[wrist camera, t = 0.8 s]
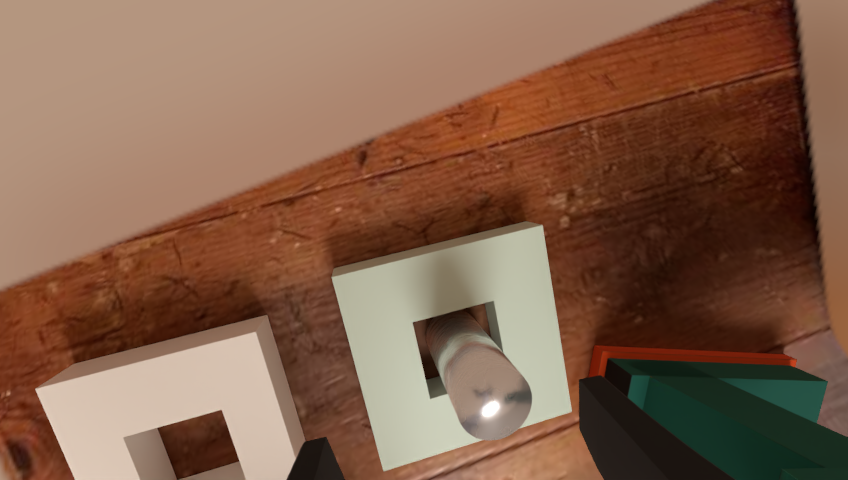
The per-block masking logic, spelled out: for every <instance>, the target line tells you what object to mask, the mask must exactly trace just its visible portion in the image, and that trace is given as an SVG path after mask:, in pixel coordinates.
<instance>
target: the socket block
mask: <svg viewBox="0 0 848 480" xmlns="http://www.w3.org/2000/svg"><path fill="white" fill-rule="evenodd" d="M332 281H333V285H334V288H335V292H336V296H337V300H338V303H339V307H340V311H341V314H342V318H343V322H344V326H345V329H346V333H347V337H348V341H349V344H350V348H351V352H352V356H353V359H354V363H355V367H356V371H357V374H358V378H359V382H360V386H361V389H362V393H363V397H364V401H365V404H366V408H367V412H368V416H369V419H370V423H371V427H372V431H373V434H374V438H375V442H376V446H377V449H378V453H379V457H380V461H381V464H382V468H383V471H387V470H390V469H393V468H396V467H399V466H402V465H406V464H409V463H412V462H415V461H418V460H421V459H424V458H428V457H431V456H434V455H437V454H440V453H443V452H446V451H450V450H453V449H456V448H459V447H462V446H465V445H469V444H472V443H475V442H478V441H481V440H482V439H478V438H476V437H473V436H472V435H470V434H469V433H468V432H466V431H465V429H464V428H463V427H462V425H461V424H460V422H459V419H458V417H457V415H456V412H455V410H454V407H453V405H452V403H451V400H450V398H449V396H448V393H447V391H446V389H445V386H444V384H443V381H442V379H441V377H440V376H438V377H434V378H431V379H427V380H426V379H425V375H424V370H423V366H422V362H421V357H420V353H419V349H418V344H417V340H416V336H415V331H414V327H413V323H412V322H416V321H420V320H424V319H427V318H431V317H435V316H438V315H442V314H446V313H450V312H453V311H457V310H461V309H464V308H468V307H472V306H476V305H479V304H483V303H485V308H486V313H487V318H488V323H489V329H490V334H491V339H492V340H493V341H494V343H495V344H496V345H497V346H498V347H499V349H500V350H501V351H502V352H503V353H504V354H505V356H506V357H507V358H508V359H509V360H510V362H511V363H512V364H513V365H514V366H515V367H516V369H517V370H518V371H519V372H520V373H521V375H522V376H523V377H524V378H525V379H526V381H527V382H528V384H529V386H530V389H531V393H532V405H531V410H530V413H529V415H528V417H527V419H526V420H525V422H524V423H523V424H522V426H521V427H520V428H522V427H525V426H528V425H532V424H535V423H538V422H541V421H544V420H547V419H550V418H554V417H557V416H560V415H563V414H566V413H569V412H572V409H571V403H570V397H569V390H568V384H567V378H566V371H565V365H564V358H563V352H562V346H561V339H560V333H559V327H558V320H557V314H556V308H555V301H554V295H553V289H552V282H551V276H550V269H549V263H548V257H547V250H546V244H545V238H544V231H543V225H540V224H536V223H532V222H528V221H525V222H521V223H517V224H513V225H509V226H505V227H501V228H497V229H492V230H488V231H484V232H480V233H476V234H472V235H468V236H464V237H460V238H456V239H452V240H447V241H443V242H439V243H435V244H431V245H427V246H423V247H419V248H415V249H411V250H407V251H402V252H398V253H394V254H390V255H386V256H382V257H378V258H374V259H370V260H366V261H362V262H357V263H353V264H349V265H345V266H341V267H337V268H334V270H333V274H332Z"/></svg>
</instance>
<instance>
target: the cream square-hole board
mask: <svg viewBox="0 0 848 480" xmlns="http://www.w3.org/2000/svg"><path fill="white" fill-rule="evenodd" d="M35 390H36V392H37V394H38V397H39V399H40V401H41V403H42V406H43V408H44V410H45V412H46V415H47V417H48V419H49V422H50V424H51V426H52V428H53V431H54V433H55V435H56V437H57V440H58V442H59V444H60V446H61V449H62V451H63V453H64V456H65V458H66V460H67V462H68V465H69V467H70V469H71V471H72V474H73V476H74V478H75V480H177V478H176V475H175V473H174V470H173V468H172V465H171V462H170V460H169V457H168V455H167V452H166V449H165V447H164V444H163V442H162V439H161V436H160V434H159V431H158V429H157V428H158V427H162V426H165V425H169V424H172V423H176V422H180V421H183V420H187V419H190V418H194V417H197V416H201V415H204V414H208V413H212V412H215V411H219V410H222V412H223V415H224V418H225V420H226V423H227V426H228V429H229V432H230V435H231V438H232V441H233V444H234V447H235V449H236V452H237V455H238V458H239V462H236V463H232V464H229V465H226V466H222V467H219V468H216V469H212V470H209V471H206V472H202V473H199V474H196V475H192V476H189V477H186V478H182V479H179V480H286V479H287V477H288V475H289V473H290V471H291V468H292V466H293V464H294V462H295V460H296V457H297V455H298V453H299V451H300V448H301V446H302V445H303V443H304V442H306V440H305V437H304V434H303V431H302V427H301V424H300V421H299V417H298V414H297V411H296V408H295V404H294V401H293V398H292V395H291V391H290V388H289V385H288V381H287V378H286V375H285V372H284V368H283V365H282V362H281V358H280V355H279V352H278V349H277V345H276V342H275V339H274V335H273V332H272V329H271V326H270V322H269V319H268V316H267V315H264V316H260V317H256V318H252V319H248V320H245V321H241V322H237V323H233V324H229V325H225V326H221V327H217V328H213V329H209V330H205V331H201V332H197V333H193V334H189V335H186V336H182V337H178V338H174V339H170V340H166V341H162V342H158V343H154V344H150V345H146V346H142V347H138V348H134V349H130V350H127V351H123V352H119V353H115V354H111V355H107V356H103V357H99V358H95V359H91V360H87V361H83V362H79V363H75V364H73V365H71V366H70V367H68V368H67V369H65V370H63V371H62V372H60V373H59V374H57V375H56V376H54V377H53V378H51V379H50V380H48V381H47V382H45V383H43V384H42V385H40V386H39V387H37V388H36V389H35Z"/></svg>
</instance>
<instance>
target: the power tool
mask: <svg viewBox="0 0 848 480" xmlns="http://www.w3.org/2000/svg"><path fill="white" fill-rule="evenodd" d="M796 361H797V359H794V358H792V357H789V356H787V355H784V354H770V353H749V352H727V351H706V350H685V349H664V348H642V347H621V346H600V345H594V350H593V356H592V361H591V366H590V372H589V377H593V376H597V375H601V376H603V377H604V378H605V379H607V380H608V381H609V382H610V383H611V384H612V385H614V386H615V387H616V388H617V389H618V390H619V391H621V392H622V393H623V394H624V395H625V396H627V397H628V398H629V399H630V400H631V401H632V402H634V403H635V404H636V405H637V406H638V407H640V408H641V409H642V410H643V411H645V412H646V413H647V414H648V415H649V416H651V417H652V418H653V419H654V420H656V421H657V422H658V423H659V424H661V425H662V426H663V427H665V428H666V429H667V430H668V431H670V432H671V433H672V434H674V435H675V436H676V437H677V438H679V439H680V440H681V441H683V442H684V443H685V444H687V445H688V446H689V447H691V448H692V449H693V450H695V451H696V452H697V453H699V454H700V455H701V456H703V457H704V458H706V459H707V460H708V461H710V462H711V463H713V464H714V465H715V466H717V467H718V468H720V469H721V470H722V471H724V472H725V473H727V474H728V475H730V476H731V477H733V478H734V479H736V480H848V437H846V436H843V435H841V434H839V433H837V432H834V431H832V430H830V429H828V428H826V427H823V426H821V425H819V424H817V420H818V416H819V412H820V409H821V405H822V401H823V397H824V394H825V390H826V386H827V383H828V381H825V380H823V379H821V378H818V377H816V376H814V375H811V374H809V373H807V372H804V371H802V370H800V369H797V368H795V365H796ZM589 377H588V378H589Z"/></svg>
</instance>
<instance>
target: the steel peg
mask: <svg viewBox="0 0 848 480" xmlns="http://www.w3.org/2000/svg"><path fill="white" fill-rule="evenodd" d="M426 343H427V346H428V348H429V351H430V353H431V355H432V358H433V360H434V363H435V365H436V367H437V370H438V372H439V374H440V377H441V379H442V381H443V384H444V386H445V389H446V391H447V393H448V396H449V398H450V400H451V403H452V405H453V407H454V410H455V412H456V415H457V417H458V419H459V422H460V424H461V425H462V427H463V428H464V429H465V431H466V432H468V433H469V434H470V435H472V436H473V437H476V438H478V439H482V440H498V439H502V438H504V437H507V436H509V435H511V434H512V433H514V432H515V431H516V430H517V429H519V428H520V427H521V426H522V424H523V423H524V422H525V420H526V419H527V417H528V415H529V413H530V410H531V405H532V393H531V389H530V386H529V384H528V382H527V381H526V379H525V378H524V377H523V376H522V375H521V373H520V372H519V371H518V370H517V369H516V367H515V366H514V365H513V364H512V363H511V362H510V360H509V359H508V358H507V357H506V356H505V354H504V353H503V352H502V351H501V350H500V349H499V347H498V346H497V345H496V344H495V343H494V341H493V340H492V339H491V338H490V337H489V335H488V334H487V333H486V332H485V331H484V330H483V328H482V327H481V326H480V325H479V324H478V322H477V321H476V320H475V319H474V318H473V317H472V316H471V315H470V314H469V313H467V312H465V311H463V310H457V311H453V312H450V313H446V314H442V315H438V316H436V317H435V318H434V319H433V320H432V321H431V322H430V324H429V326H428V328H427V332H426Z"/></svg>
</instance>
